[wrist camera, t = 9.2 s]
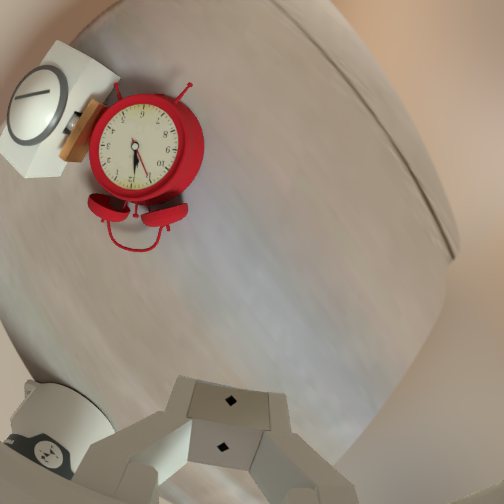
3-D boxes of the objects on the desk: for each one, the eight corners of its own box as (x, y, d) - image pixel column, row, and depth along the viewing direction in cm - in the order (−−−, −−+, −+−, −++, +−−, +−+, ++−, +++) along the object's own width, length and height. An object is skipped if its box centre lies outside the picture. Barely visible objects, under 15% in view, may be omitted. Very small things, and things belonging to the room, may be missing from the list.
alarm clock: (208, 76, 21) (173, 262, 21) (215, 108, 28) (189, 259, 28) (98, 77, 21) (58, 242, 21) (121, 105, 27) (92, 244, 27)
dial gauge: (64, 180, 27) (23, 182, 20) (27, 146, 26) (-13, 144, 19) (126, 81, 24) (94, 59, 18) (82, 55, 23) (48, 34, 17)
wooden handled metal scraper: (81, 162, 25) (64, 161, 22) (45, 132, 24) (28, 130, 22) (113, 110, 24) (99, 103, 21) (74, 83, 23) (58, 76, 20)
